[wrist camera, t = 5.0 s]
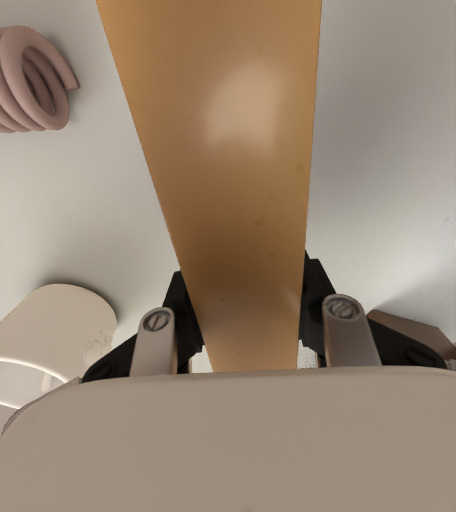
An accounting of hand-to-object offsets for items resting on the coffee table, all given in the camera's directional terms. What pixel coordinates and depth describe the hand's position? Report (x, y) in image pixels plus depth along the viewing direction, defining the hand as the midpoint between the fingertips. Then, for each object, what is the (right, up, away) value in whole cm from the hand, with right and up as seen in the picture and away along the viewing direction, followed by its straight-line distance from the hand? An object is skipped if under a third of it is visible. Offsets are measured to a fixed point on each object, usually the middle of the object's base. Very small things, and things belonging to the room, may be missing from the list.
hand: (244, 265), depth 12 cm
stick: (0, 0, 0) cm, 0 cm away
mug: (-19, -7, +16) cm, 25 cm away
